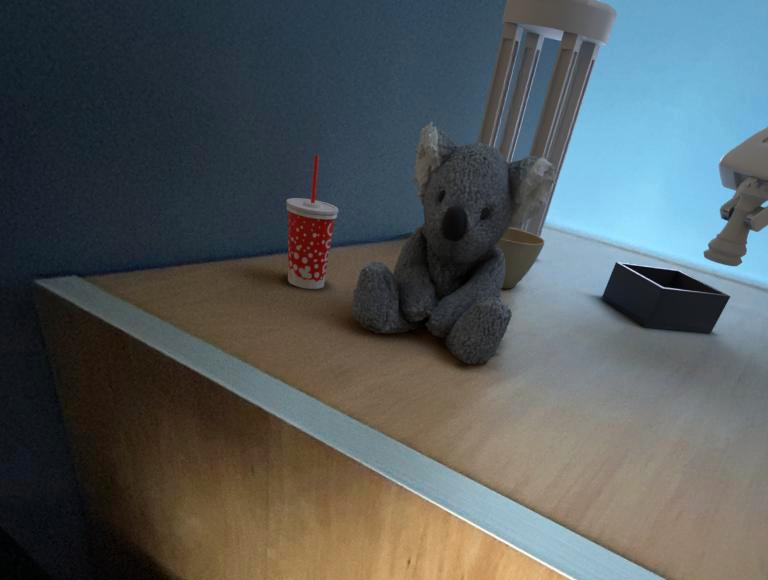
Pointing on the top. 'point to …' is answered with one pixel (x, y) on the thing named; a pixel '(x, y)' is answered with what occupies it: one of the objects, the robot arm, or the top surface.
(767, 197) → the rook chess piece
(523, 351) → the top surface
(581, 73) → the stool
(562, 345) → the top surface
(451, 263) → the koala plush
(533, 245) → the flower pot
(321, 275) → the beverage cup
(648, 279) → the bin
